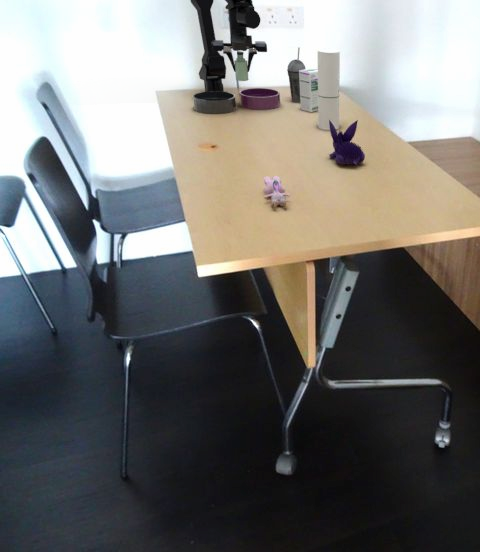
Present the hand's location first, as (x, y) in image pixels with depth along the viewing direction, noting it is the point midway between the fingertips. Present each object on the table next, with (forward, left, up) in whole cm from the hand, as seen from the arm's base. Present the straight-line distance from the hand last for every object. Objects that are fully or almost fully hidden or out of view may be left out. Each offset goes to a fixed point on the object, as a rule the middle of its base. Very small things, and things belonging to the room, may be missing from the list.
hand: (241, 71), depth 204 cm
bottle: (0, 0, -3) cm, 3 cm away
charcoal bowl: (-6, -9, -13) cm, 17 cm away
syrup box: (+21, +13, -13) cm, 28 cm away
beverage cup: (+10, +21, -13) cm, 27 cm away
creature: (+59, -30, -13) cm, 68 cm away
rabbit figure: (+58, -64, -13) cm, 88 cm away
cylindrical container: (+38, -3, -13) cm, 40 cm away
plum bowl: (+4, +5, -13) cm, 14 cm away
